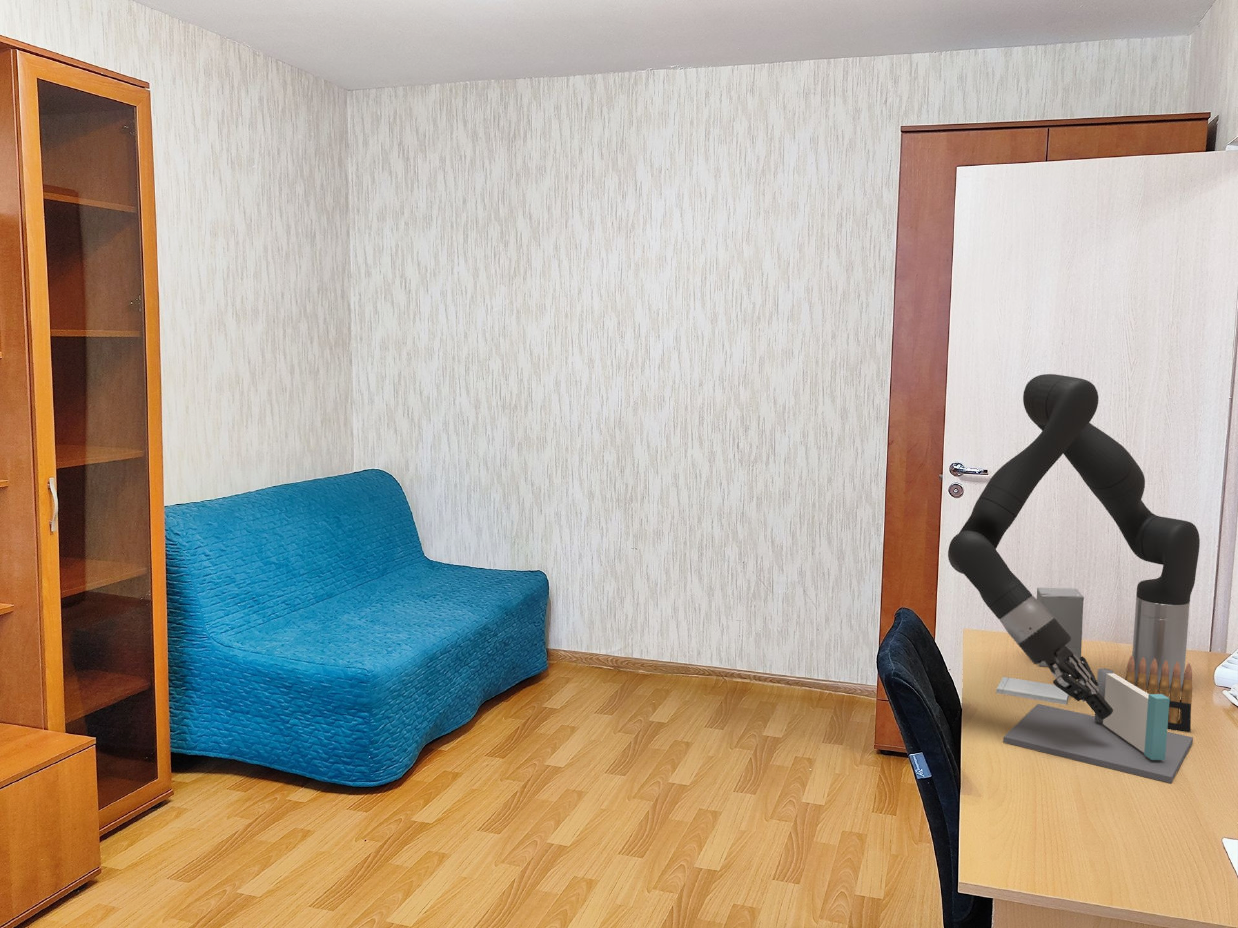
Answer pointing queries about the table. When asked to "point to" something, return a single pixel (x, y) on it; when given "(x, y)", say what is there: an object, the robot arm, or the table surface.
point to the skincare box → (1065, 613)
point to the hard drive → (1032, 690)
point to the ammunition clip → (1166, 690)
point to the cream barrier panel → (1135, 714)
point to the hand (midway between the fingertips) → (1108, 715)
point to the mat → (1094, 743)
